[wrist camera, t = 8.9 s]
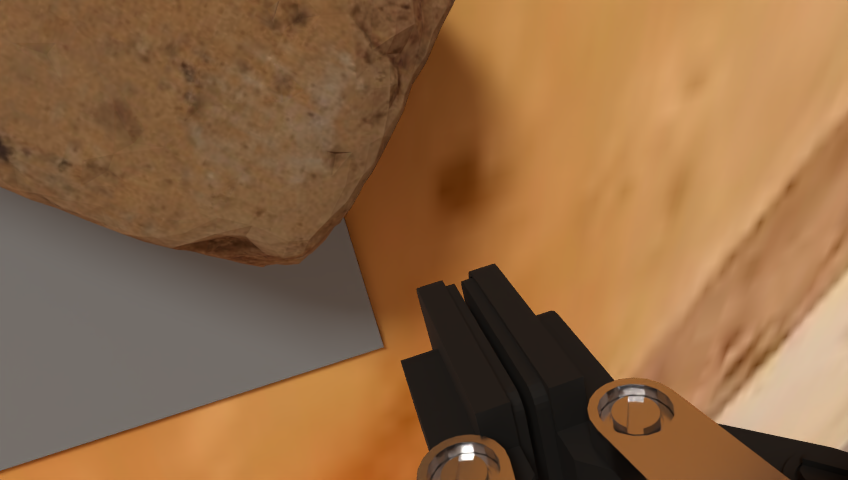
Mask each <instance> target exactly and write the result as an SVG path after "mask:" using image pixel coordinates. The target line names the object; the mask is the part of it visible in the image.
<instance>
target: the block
mask: <svg viewBox="0 0 848 480" xmlns="http://www.w3.org/2000/svg"><path fill="white" fill-rule="evenodd" d="M454 1H455V0H0V187H2V188H4V189H6V190H9V191H11V192H14V193H16V194H18V195H21V196H23V197H25V198H28V199H30V200H33V201H36V202H39V203H42V204H45V205H48V206H52V207H55V208H58V209H60V210H63V211H65V212H67V213H70V214H72V215H75V216H77V217H80V218H82V219H85V220H87V221H90V222H92V223H95V224H98V225H100V226H103V227H105V228H108V229H111V230H113V231H116V232H119V233H121V234H124V235H127V236H129V237H132V238H135V239H138V240H141V241H143V242H147V243H151V244H155V245H159V246H163V247H167V248H171V249H175V250H187V251H192V252H197V253H200V254H204V255H207V256H211V257H216V258H221V259H226V260H231V261H234V262H238V263H242V264H247V265H253V266H258V267H265V266H267V265H274V264H280V265H293V264H300V263H301V262H302V261H303V260H304V259H305V258H306V257H307V256H308V255H309V254H311V253H313V252H314V251H315V250H316V249H317V248H318V247H319V246H320V245H321V244H322V243H323V242H324V241H325V240H326V238H327V237H328V236H329V234H330V233H331V231H332V230H333V228H334V227H335V226H337V225H338V224H339V223H341V220H342V219H343V217H344V216H345V215H346V213H347V212H348V211H349V210H350V208H351V207H352V205H353V203H354V202H355V200H356V198H357V197H358V195H359V193H360V191H361V189H362V187H363V185H364V183H365V182H366V180H367V179H368V178H369V176H370V175H371V173H372V172H373V170H374V168H375V166H376V164H377V162H378V161H379V159H380V157H381V155H382V153H383V151H384V149H385V147H386V145H387V143H388V141H389V139H390V137H391V135H392V133H393V131H394V129H395V127H396V125H397V123H398V121H399V119H400V117H401V115H402V113H403V110H404V107H405V104H406V101H407V98H408V95H409V92H410V89H411V86H412V84H413V82H414V81H415V79H416V78H417V76H418V75H419V73H420V71H421V70H422V68H423V67H424V65H425V64H426V61H427V59H428V57H429V54H430V52H431V50H432V47H433V45H434V43H435V40H436V38H437V36H438V33H439V31H440V29H441V27H442V25H443V23H444V21H445V19H446V17H447V15H448V13H449V11H450V9H451V8H452V6H453V3H454Z"/></svg>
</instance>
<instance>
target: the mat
mask: <svg viewBox="0 0 848 480" xmlns="http://www.w3.org/2000/svg"><path fill="white" fill-rule="evenodd" d="M382 347H384V346H383V343H382V340H381V336H380V333H379V330H378V327H377V323H376V320H375V317H374V314H373V310H372V307H371V304H370V301H369V297H368V294H367V291H366V288H365V285H364V281H363V278H362V275H361V272H360V268H359V265H358V262H357V259H356V255H355V252H354V249H353V246H352V242H351V239H350V236H349V233H348V229H347V226H346V223H345V220H344V217H343V219H342V220H341V223H339V224H338V225H337V226H335V227H334V228H333V230H332V231H331V233H330V234H329V236H328V237H327V238H326V240H325V241H324V242H323V243H322V244H321V245H320V246H319V247H318V248H317V249H316V250H315V251H314V252H313V253H311V254H309V255H308V256H307V257H306V258H305V259H304V260H303V261H302V262H301V263H300V264H293V265H280V264H274V265H267V266H265V267H258V266H253V265H247V264H242V263H238V262H234V261H231V260H226V259H221V258H216V257H211V256H207V255H204V254H200V253H197V252H192V251H187V250H175V249H171V248H167V247H163V246H159V245H155V244H151V243H147V242H143V241H141V240H138V239H135V238H132V237H129V236H127V235H124V234H121V233H119V232H116V231H113V230H111V229H108V228H105V227H103V226H100V225H98V224H95V223H92V222H90V221H87V220H85V219H82V218H80V217H77V216H75V215H72V214H70V213H67V212H65V211H63V210H60V209H58V208H55V207H52V206H48V205H45V204H42V203H39V202H36V201H33V200H30V199H28V198H25V197H23V196H21V195H18V194H16V193H14V192H11V191H9V190H6V189H4V188H2V187H0V471H1V470H4V469H7V468H10V467H13V466H16V465H19V464H22V463H26V462H29V461H32V460H35V459H38V458H41V457H44V456H47V455H50V454H54V453H57V452H60V451H63V450H66V449H69V448H72V447H75V446H78V445H81V444H85V443H88V442H91V441H94V440H97V439H100V438H103V437H106V436H109V435H112V434H116V433H119V432H122V431H125V430H128V429H131V428H134V427H137V426H140V425H143V424H147V423H150V422H153V421H156V420H159V419H162V418H165V417H168V416H171V415H175V414H178V413H181V412H184V411H187V410H190V409H193V408H196V407H199V406H202V405H206V404H209V403H212V402H215V401H218V400H221V399H224V398H227V397H230V396H233V395H237V394H240V393H243V392H246V391H249V390H252V389H255V388H258V387H261V386H265V385H268V384H271V383H274V382H277V381H280V380H283V379H286V378H289V377H292V376H296V375H299V374H302V373H305V372H308V371H311V370H314V369H317V368H320V367H323V366H327V365H330V364H333V363H336V362H339V361H342V360H345V359H348V358H351V357H354V356H358V355H361V354H364V353H367V352H370V351H373V350H376V349H379V348H382Z"/></svg>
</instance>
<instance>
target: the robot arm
mask: <svg viewBox="0 0 848 480" xmlns="http://www.w3.org/2000/svg"><path fill="white" fill-rule="evenodd" d="M461 285H462V290H463V294H464V299H465V301H464V299H463V298H462V296H461V294H460V293H459V291H458V289H457V288H456V286H455V285H454V284H452V285H449V286H445V284H444V283H443V281H438V282H435V283H432V284H429V285H426V286H423V287H420V288H417V294H418V298H419V302H420V305H421V309H422V313H423V316H424V320H425V324H426V327H427V331H428V334H429V338H430V342H431V345H432V349H433V350H431V351H428V352H425V353H422V354H419V355H416V356H413V357H410V358H407V359H404V360H401V363H402V367H403V370H404V373H405V377H406V380H407V383H408V386H409V390H410V393H411V396H412V399H413V403H414V406H415V409H416V412H417V415H418V418H419V422H420V425H421V428H422V431H423V434H424V437H425V440H426V443H427V446H428V449H429V452H428V453H427V454H426V456H425V457H424V458H423V460H422V462H421V464H420V466H419V468H418V472H417V480H848V452H844V451H841V450H838V449H835V448H832V447H827V446H822V445H817V444H813V443H808V442H803V441H798V440H793V439H789V438H784V437H779V436H774V435H770V434H765V433H760V432H755V431H751V430H746V429H741V428H736V427H731V426H727V425H722V424H717V423H715V422H714V421H713V420H712V419H710V418H709V417H708V416H706V415H705V414H704V413H702V412H701V411H700V410H698V409H697V408H696V407H695V406H693V405H692V404H691V403H689V402H688V401H687V400H685V399H684V398H683V397H681V396H680V395H679V394H678V393H676V392H675V391H674V390H672V389H670V388H669V387H667V386H665V385H663V384H662V383H659V382H656V381H652V380H649V379H642V378H626V379H618V380H615V381H614V379H613V378H612V377H611V376H610V375H609V374H608V372H607V371H606V370H605V369H604V368H603V367H602V365H601V364H600V363H599V362H598V361H597V360H596V358H595V357H594V356H593V355H592V354H591V352H590V351H589V350H588V349H587V348H586V347H585V345H584V344H583V343H582V342H581V341H580V340H579V338H578V337H577V336H576V335H575V334H574V333H573V331H572V330H571V329H570V328H569V327H568V326H567V324H566V323H565V322H564V321H563V320H562V318H561V317H560V316H559V315H558V314H557V313H556V312H555V311H548V312H545V313H542V314H539V315H535V314H534V313H533V312H532V310H531V309H530V308H529V306H528V305H527V304H526V303H525V301H524V300H523V299H522V297H521V296H520V295H519V294H518V292H517V291H516V290H515V288H514V287H513V286H512V285H511V283H510V282H509V281H508V280H507V278H506V277H505V276H504V274H503V273H502V272H501V271H500V269H499V268H498V267H497V266H496V265H495V264H491V265H488V266H485V267H482V268H479V269H476V270H473V271H469V279H467V280H464V281H461Z"/></svg>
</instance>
